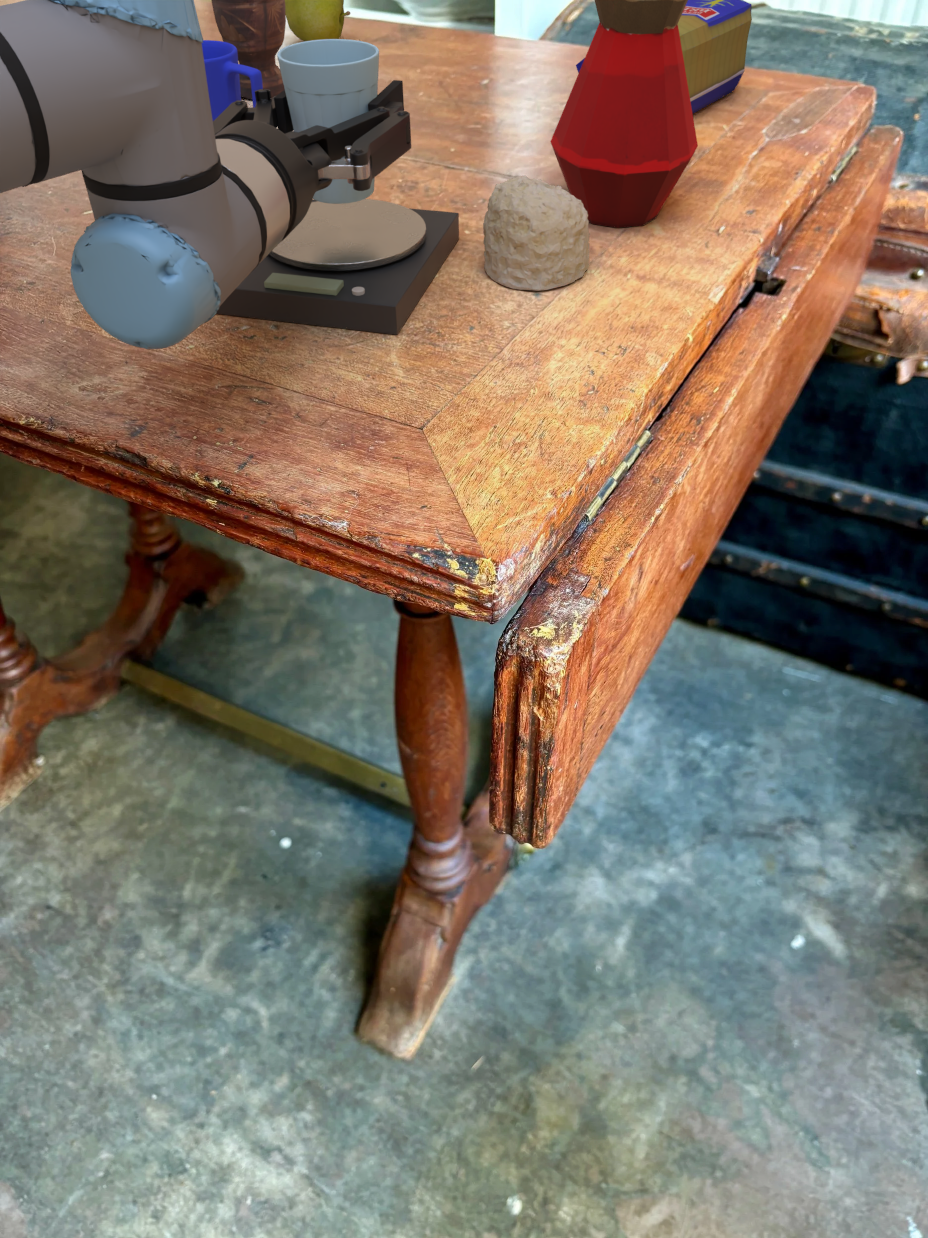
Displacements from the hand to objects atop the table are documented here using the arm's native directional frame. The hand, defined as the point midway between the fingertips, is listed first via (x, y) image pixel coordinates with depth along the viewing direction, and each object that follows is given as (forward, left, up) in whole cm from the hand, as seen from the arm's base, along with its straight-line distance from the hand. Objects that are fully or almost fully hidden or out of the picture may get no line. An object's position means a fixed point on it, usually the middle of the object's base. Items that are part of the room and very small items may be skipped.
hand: (354, 95), depth 82 cm
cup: (0, -5, -6) cm, 8 cm away
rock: (+16, -1, -13) cm, 20 cm away
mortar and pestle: (-27, +40, -13) cm, 49 cm away
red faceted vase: (+21, +14, -13) cm, 28 cm away
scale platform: (0, -5, -10) cm, 11 cm away
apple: (-28, +64, -13) cm, 71 cm away
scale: (0, -6, -12) cm, 14 cm away
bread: (+22, +46, -13) cm, 52 cm away
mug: (-22, +19, -13) cm, 31 cm away
